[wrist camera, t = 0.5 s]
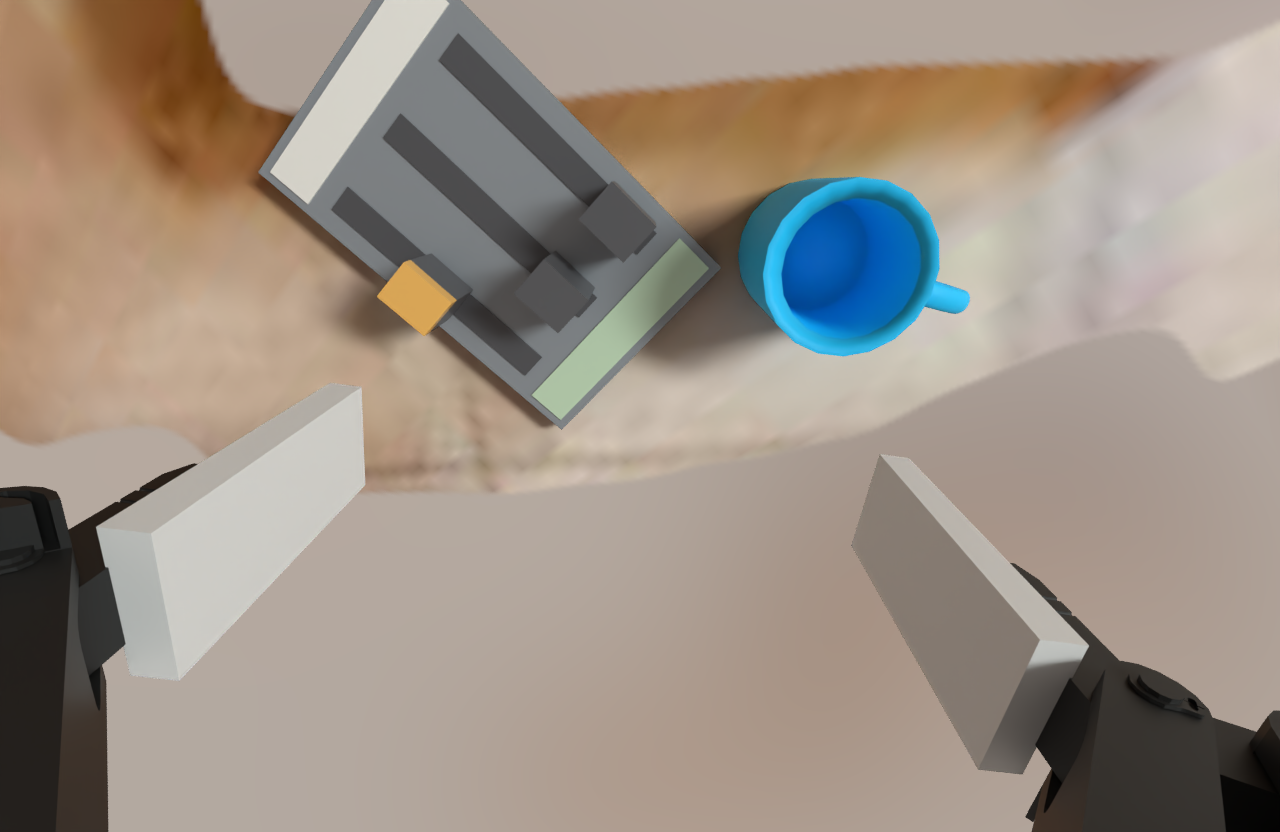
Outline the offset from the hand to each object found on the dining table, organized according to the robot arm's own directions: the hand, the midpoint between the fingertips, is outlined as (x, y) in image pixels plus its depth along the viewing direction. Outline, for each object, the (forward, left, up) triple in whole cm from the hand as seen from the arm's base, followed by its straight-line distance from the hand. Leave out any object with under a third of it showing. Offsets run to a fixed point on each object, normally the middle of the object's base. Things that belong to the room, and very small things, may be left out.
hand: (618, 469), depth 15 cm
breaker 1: (-4, -2, -21) cm, 22 cm away
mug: (+7, +10, -23) cm, 26 cm away
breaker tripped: (-9, -7, -21) cm, 24 cm away
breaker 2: (-4, +3, -21) cm, 22 cm away
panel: (-9, -2, -23) cm, 25 cm away
